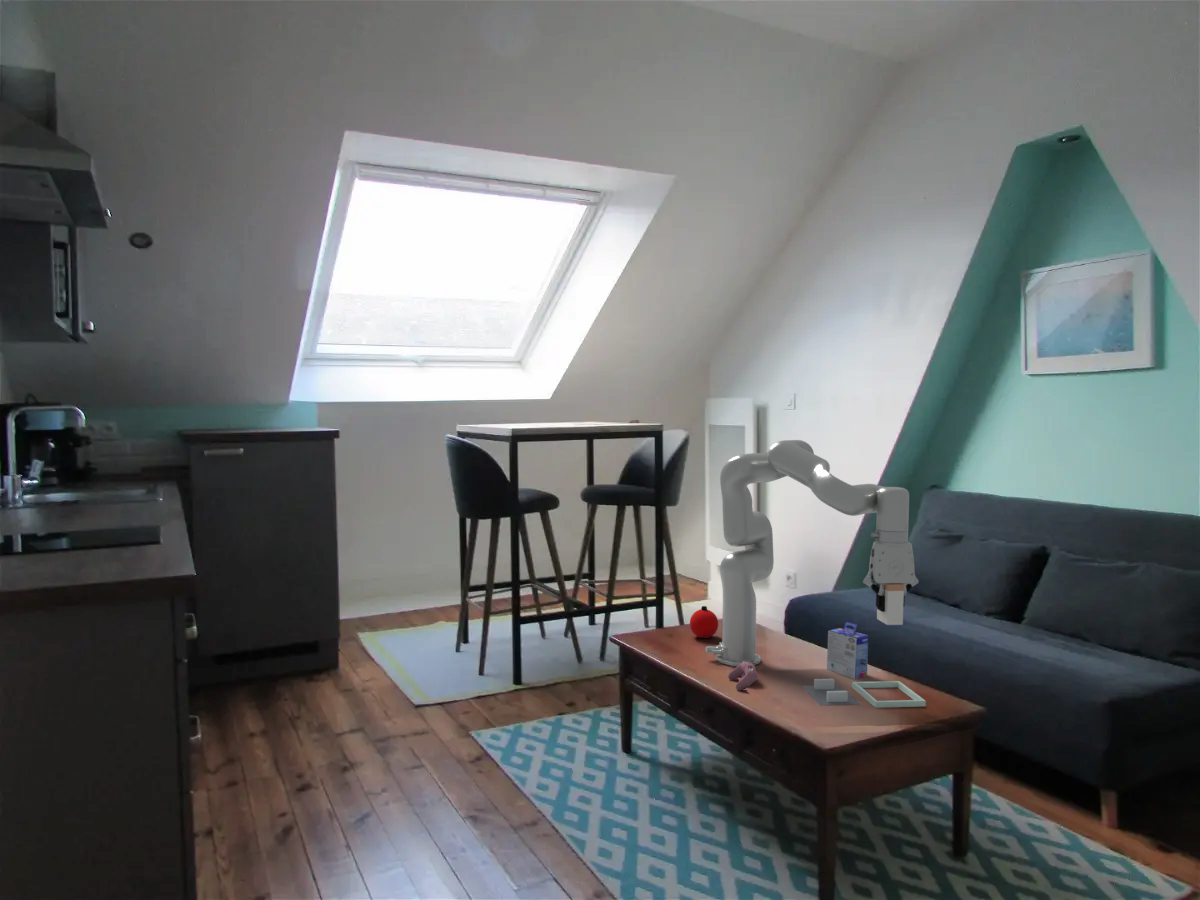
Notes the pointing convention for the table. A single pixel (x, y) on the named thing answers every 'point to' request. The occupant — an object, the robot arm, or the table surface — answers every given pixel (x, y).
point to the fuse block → (829, 693)
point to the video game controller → (744, 675)
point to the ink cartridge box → (847, 652)
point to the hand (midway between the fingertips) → (889, 609)
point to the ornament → (704, 623)
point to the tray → (915, 702)
